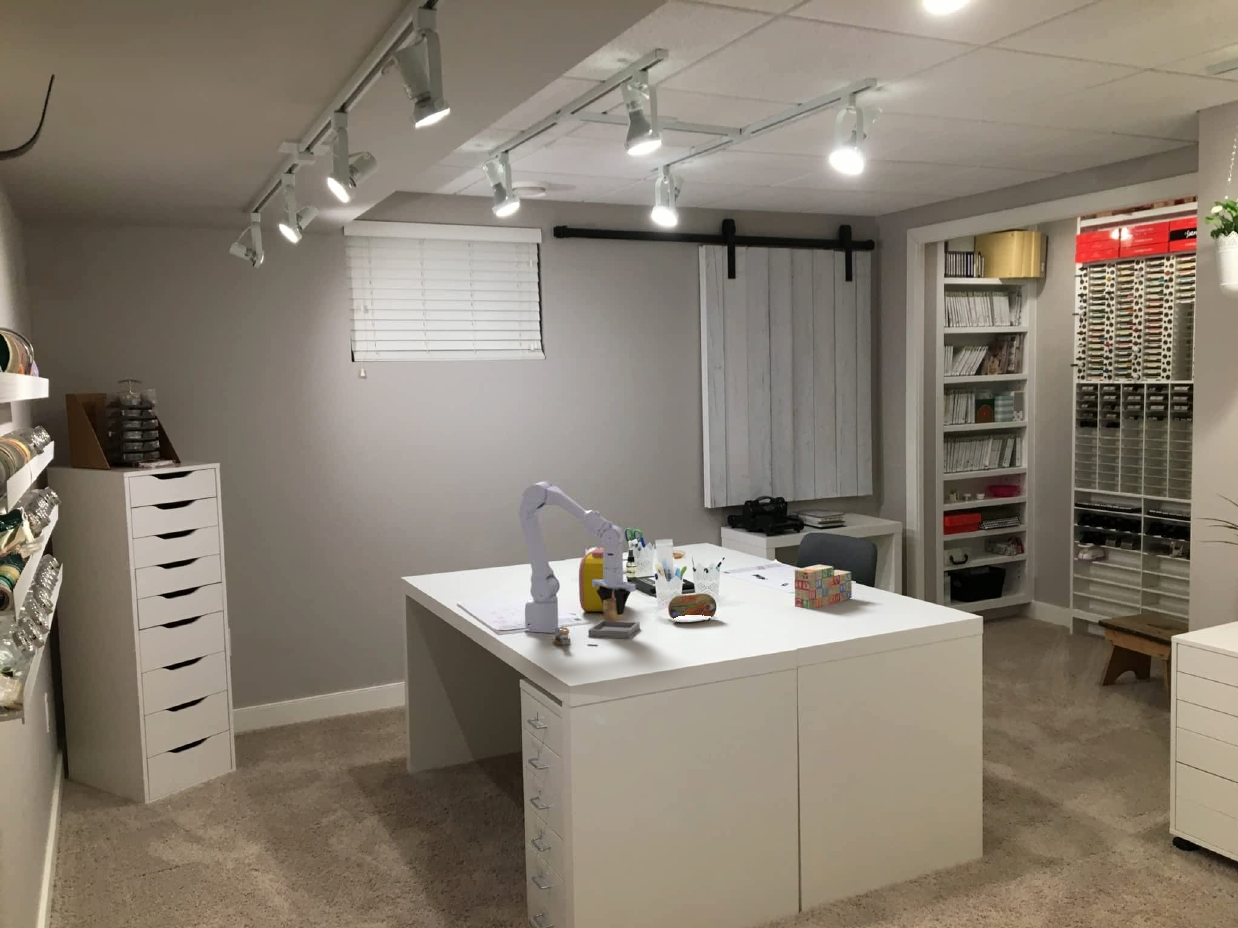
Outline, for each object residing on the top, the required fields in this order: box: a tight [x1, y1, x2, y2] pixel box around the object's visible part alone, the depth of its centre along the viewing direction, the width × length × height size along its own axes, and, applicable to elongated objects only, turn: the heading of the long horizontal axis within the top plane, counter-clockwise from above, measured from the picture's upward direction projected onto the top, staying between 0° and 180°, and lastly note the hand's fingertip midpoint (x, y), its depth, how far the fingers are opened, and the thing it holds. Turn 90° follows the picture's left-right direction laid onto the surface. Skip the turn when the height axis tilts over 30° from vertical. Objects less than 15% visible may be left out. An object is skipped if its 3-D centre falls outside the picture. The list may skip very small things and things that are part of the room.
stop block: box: [603, 598, 624, 622], centre depth 295 cm, size 4×4×6 cm
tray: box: [587, 619, 641, 640], centre depth 295 cm, size 12×12×2 cm
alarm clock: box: [578, 547, 618, 613], centre depth 325 cm, size 18×11×19 cm, turn 168°
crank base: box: [552, 637, 598, 647], centre depth 283 cm, size 13×5×1 cm, turn 73°
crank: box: [554, 626, 570, 645], centre depth 281 cm, size 9×4×4 cm, turn 13°
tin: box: [667, 593, 717, 620], centre depth 308 cm, size 15×3×8 cm, turn 106°
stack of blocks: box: [794, 564, 853, 610], centre depth 329 cm, size 21×6×12 cm, turn 129°
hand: (614, 613), depth 295 cm, fingers closed on stop block, 4 cm apart
